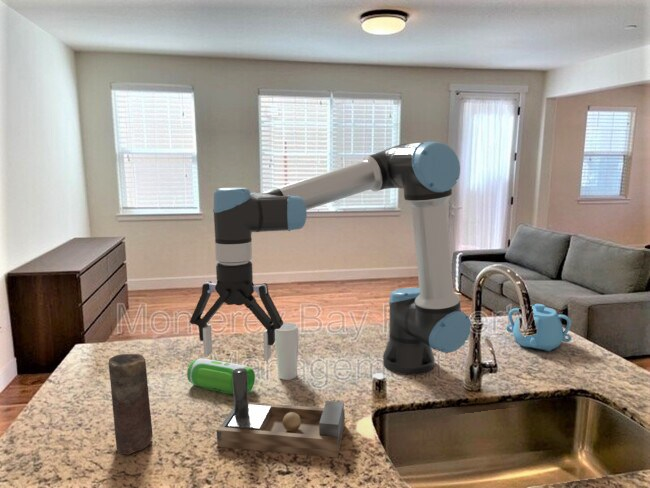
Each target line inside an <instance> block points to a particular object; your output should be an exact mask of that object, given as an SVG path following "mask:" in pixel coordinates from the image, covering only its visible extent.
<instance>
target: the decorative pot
mask: <svg viewBox="0 0 650 488" xmlns="http://www.w3.org/2000/svg"><path fill="white" fill-rule="evenodd" d="M531 306H532V309H533V313H534V320H535V325H536V328H537V333H536V334H535V335H531V336H526V337H524V336H523V335H522V334H521V333H520V332H519V316H518V315H517V318H516V319H515V322H514V319H513V313H514V312H517V313H520V312H519V309H520V308H518V307H515V308H512V309H510V310H509V311H508V320H509V323H510V324H507V325H506V331H507V332H508V333H512V336H513V337H514V339H515V341H516V342H517V343H518V344H519V345H520V347H523V348H532V349H537V350H542V351H544V352H551V351H552V350H555V349H556V348H558V347H559V346H560V345H561V344H562V342H564V343H569V342H571V341H572V336H571V334H569V333H568V332H569V330H570V328H571V325H572V321H571V319H570V317H568V316H567V315H566V314H558V312H557V311H556V310H555V309H554V308H550V307H547V306H546V305H545V304H542V303H535V304H534V305H531ZM561 319H564V320H565V321H566V322H567V324H566V327H565V329H564V327H563V324H562V321H561ZM510 327H511V328H510ZM566 337H567V338H566Z"/></svg>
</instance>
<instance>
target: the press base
mask: <svg viewBox="0 0 650 488" xmlns="http://www.w3.org/2000/svg"><path fill="white" fill-rule="evenodd" d="M248 403H249V405H261V406H271V417H270V419H269V421H268V423H267V425H266V427H265V429H264V431H262V430H250V429H238V428H228V425H229V423H230V422H231V420H232V419H233V417H234V416H235V415H234V406H233V407H232V409H231V410H230V412H229V413H228V415H227V416H226V418H225V419H224V420H223V422H222V423H221V425H220V426H218V427H217V429H216V443H217V447H218V448H228V449H238V450H239V449H241V450H249V451H250V450H251V451H259V452H272V453H281V454H282V453H283V454H291V455H292V454H293V455H294V454H295V455H305V456H314V457H326V458H336V459H338V458H339V453H340V448H341V444H342V440H343V435H344V429H345V423H346V421H345V418H346V417H345V415H346V414H345V409H344V408H345V407H344V405H345V402H343V401H331V400H326V401H325V404H324V407H318V406H317V407H315V406H302V405H301V406H300V405H288V404H279V403H277V404H275V403H266V402H265V403H263V402H252V401H251V402H250V401H248ZM289 412H294V413H297V414H298V415H299V417H300V419H301V424H300V427H299V428H298V429H297V430H296V431H292V432H291V431H287V430H286V429H285V428H284V426H283V418H284V416H285V415H286V414H287V413H289Z"/></svg>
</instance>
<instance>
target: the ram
mask: <svg viewBox="0 0 650 488" xmlns="http://www.w3.org/2000/svg"><path fill="white" fill-rule="evenodd" d="M232 376H233V394H232V395H233V407H234V415H235V416H234V417H233V419H232V420H231V422H230V423H229V425H228V428H238V429H250V430H262V431H264V429H265V427H266V425H267V423H268V421H269V419H270V417H271V406H261V405H249V403H248V402H249V393H248V381H247V370H246V369H244V368H238V369H235V370H233V371H232Z"/></svg>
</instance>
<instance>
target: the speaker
mask: <svg viewBox="0 0 650 488" xmlns="http://www.w3.org/2000/svg"><path fill="white" fill-rule="evenodd" d="M187 368H188V369H187V373H186V376H187V380H188V382H189V383H191V384H192V385H195V386H197V387H200V388H204V389H207V390H210V391H214V392H215V391H216V392H219V393H224V394H228V395H229V394H231V395H233V376H232V371H233V370H235V369H238V368H244V369H246V370H247V381H248V394H249V393H250V392H251V391H252V390H253V388H254V385H255V383H256V382H255V380H256V374H255V371H254V370H253V369H252V368H251V367H249V366H246V365H242V364H239V363H232V362H227V361H220V360H215V359H209V358H196V359H194V360H193V359H192V361H191V362H190V364H189V365H188V367H187Z"/></svg>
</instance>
